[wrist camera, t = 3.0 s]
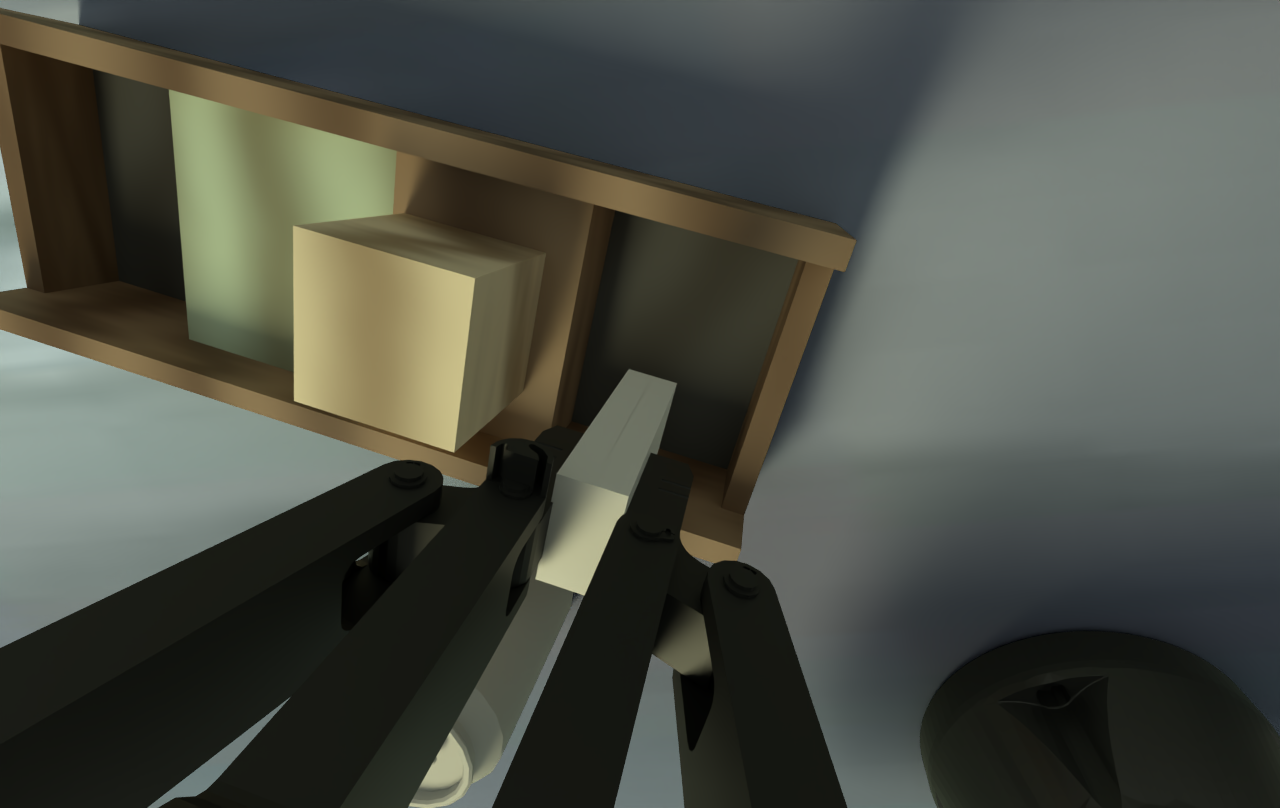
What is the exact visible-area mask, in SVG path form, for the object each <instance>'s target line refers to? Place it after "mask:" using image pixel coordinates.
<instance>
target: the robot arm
mask: <svg viewBox="0 0 1280 808" xmlns="http://www.w3.org/2000/svg"><path fill="white" fill-rule="evenodd" d="M676 385H677V383H674V382H671V381H668V380H664V379H661V378H657V377H654V376H651V375H647V374H644V373H640V372H637V371H634V370H630V369H629V370H628V371H627V372H626V374H625V375H624V377H623V378H622V380H621V381H620V383H619V384H618V386H617V387H616V388H615V390H614V391H613V393H612V394H611V396H610V397H609V399H608V400H607V401H606V403H605V404H604V406H603V407H602V409H601V410H600V412H599V413H598V415H597V416H596V417H595V419H594V420H593V422H592V423H591V425H590V426H589V428H588V429H587V430H586V432H585V433H581V432H577V431H574V430H571V429H568V428H565V427H561V426H558V425H557V426H554V427H552V428H549V429H547V430H544V431H542V432H541V434H540V435H539V436H538V437H537V438H536V440H535V441H532V440H527V439H522V438H508V439H503V440H499V441H497V442H495V443H493V444H492V445H491V446H490V453H489V460H488V467H487V474H486V480H485V481H484V482H483V483H482V484H481V485H480V486H479V487H477V488H463V487H453V486H444V485H443V476H442V474H441V472H440V470H438V469H437V468H436V467H434V466H433V465H431V464H428V463H425V462H422V461H417V460H416V461H415V460H400V461H393V462H390V463H387V464H384V465H382V466H380V467H378V468H375V469H373V470H371V471H369V472H367V473H365V474H363V475H361V476H359V477H357V478H355V479H352V480H350V481H348V482H346V483H344V484H342V485H340V486H338V487H336V488H334V489H332V490H330V491H327V492H325V493H323V494H321V495H319V496H317V497H315V498H313V499H311V500H309V501H307V502H304V503H302V504H300V505H298V506H296V507H294V508H292V509H290V510H288V511H286V512H284V513H281V514H279V515H277V516H275V517H273V518H271V519H269V520H267V521H265V522H263V523H261V524H259V525H256V526H254V527H252V528H250V529H248V530H246V531H244V532H242V533H240V534H238V535H236V536H233V537H231V538H229V539H227V540H225V541H223V542H221V543H219V544H217V545H215V546H213V547H211V548H208V549H206V550H204V551H202V552H200V553H198V554H196V555H194V556H192V557H190V558H188V559H185V560H183V561H181V562H179V563H177V564H175V565H173V566H171V567H169V568H167V569H165V570H162V571H160V572H158V573H156V574H154V575H152V576H150V577H148V578H146V579H144V580H142V581H140V582H137V583H135V584H133V585H131V586H129V587H127V588H125V589H123V590H121V591H119V592H117V593H114V594H112V595H110V596H108V597H106V598H104V599H102V600H100V601H98V602H96V603H94V604H91V605H89V606H87V607H85V608H83V609H81V610H79V611H77V612H75V613H73V614H71V615H69V616H66V617H64V618H62V619H60V620H58V621H56V622H54V623H52V624H50V625H48V626H46V627H43V628H41V629H39V630H37V631H35V632H33V633H31V634H29V635H27V636H25V637H23V638H21V639H18V640H16V641H14V642H12V643H10V644H8V645H6V646H4V647H2V648H0V808H147V807H148V806H150V805H151V804H152V803H154V802H155V801H156V800H158V799H159V798H160V797H161V796H163V795H164V794H165V793H167V792H168V791H169V790H170V789H172V788H173V787H174V786H176V785H177V784H178V783H179V782H181V781H182V780H183V779H185V778H186V777H187V776H189V775H190V774H191V773H192V772H194V771H195V770H196V769H198V768H199V767H200V766H201V765H203V764H204V763H205V762H207V761H208V760H209V759H211V758H212V757H213V756H214V755H216V754H217V753H218V752H220V751H221V750H222V749H223V748H225V747H226V746H227V745H229V744H230V743H231V742H233V741H234V740H235V739H236V738H238V737H239V736H240V735H242V734H243V733H244V732H245V731H247V730H248V729H249V728H251V727H252V726H253V725H255V724H256V723H257V722H258V721H260V720H261V719H262V718H264V717H265V716H266V715H267V714H269V713H270V712H271V711H273V710H274V709H275V708H277V707H278V706H279V705H280V704H282V703H283V702H284V701H286V700H287V699H288V698H289V697H290V699H289V700H288V701H287V702H286V703H285V704H284V705H283V706H282V708H281V709H280V710H279V711H278V712H277V713H276V714H275V715H274V716H273V718H272V719H271V720H270V721H269V722H268V723H267V724H266V725H265V727H264V728H263V729H262V730H261V731H260V732H259V733H258V734H257V735H256V737H255V738H254V739H253V740H252V741H251V742H250V743H249V744H248V745H247V747H246V748H245V749H244V750H243V751H242V752H241V753H240V754H239V756H238V757H237V758H236V759H235V760H234V761H233V762H232V763H231V764H230V766H229V767H228V768H227V769H226V770H225V771H224V772H223V773H222V775H221V776H220V777H219V778H218V779H217V780H216V781H215V782H214V783H213V784H212V785H211V786H210V787H209V788H208V789H207V790H205V791H204V792H202V793H200V794H199V795H197V796H194V797H179V798H174V799H172V800H171V801H169V802H167V803H166V804H164V805H162V806H160V807H159V808H408V806H409V805H410V803H411V801H412V799H413V797H414V796H415V794H416V792H417V790H418V788H419V787H420V785H421V783H422V781H423V780H424V778H425V776H426V774H427V772H428V771H429V769H430V767H431V765H432V763H433V762H434V760H435V758H436V756H437V755H438V753H439V751H440V749H441V747H442V746H443V744H444V742H445V740H446V738H447V737H448V735H449V733H450V731H451V730H452V728H453V726H454V724H455V722H456V721H457V719H458V717H459V715H460V714H461V712H462V710H463V708H464V706H465V705H466V703H467V701H468V699H469V697H470V696H471V694H472V692H473V690H474V689H475V687H476V685H477V683H478V681H479V680H480V678H481V676H482V674H483V672H484V671H485V669H486V667H487V665H488V664H489V662H490V660H491V658H492V656H493V655H494V653H495V651H496V649H497V647H498V646H499V644H500V642H501V640H502V639H503V637H504V635H505V633H506V631H507V630H508V628H509V626H510V624H511V622H512V621H513V619H514V617H515V615H516V614H517V612H518V610H519V608H520V606H521V605H522V603H523V601H524V599H525V597H526V596H527V592H528V588H529V583H530V578H531V575H532V573H533V572H534V570H535V568H536V566H537V565H538V569H537V574H536V579H537V580H540V581H543V582H546V583H549V584H552V585H555V586H558V587H560V588H563V589H566V590H569V591H572V592H575V593H578V594H581V595H584V598H583V600H582V602H581V605H580V607H579V609H578V611H577V614H576V616H575V618H574V621H573V623H572V625H571V628H570V630H569V632H568V634H567V637H566V639H565V641H564V644H563V646H562V648H561V650H560V653H559V655H558V657H557V660H556V662H555V664H554V667H553V669H552V671H551V673H550V676H549V678H548V680H547V683H546V685H545V687H544V690H543V692H542V694H541V696H540V699H539V701H538V703H537V706H536V708H535V710H534V712H533V715H532V717H531V719H530V722H529V724H528V726H527V729H526V731H525V733H524V735H523V738H522V740H521V742H520V745H519V747H518V749H517V752H516V754H515V756H514V758H513V761H512V763H511V765H510V768H509V770H508V772H507V774H506V777H505V779H504V781H503V784H502V786H501V788H500V791H499V793H498V795H497V797H496V800H495V802H494V804H493V807H492V808H614V805H615V801H616V797H617V793H618V789H619V785H620V781H621V776H622V772H623V768H624V764H625V760H626V756H627V752H628V748H629V744H630V740H631V736H632V732H633V728H634V724H635V720H636V716H637V712H638V708H639V703H640V699H641V695H642V691H643V687H644V683H645V679H646V675H647V671H648V667H649V663H650V659H651V655H652V654H653V655H655V656H656V657H658V658H659V659H661V660H662V661H664V662H665V663H667V664H668V665H670V666H671V667H672V668H674V670H673V677H672V678H673V689H674V700H675V710H676V721H677V732H678V742H679V753H680V764H681V774H682V785H683V796H684V806H685V808H847V805H846V802H845V799H844V796H843V793H842V790H841V787H840V784H839V781H838V778H837V775H836V772H835V769H834V766H833V763H832V760H831V757H830V754H829V751H828V748H827V745H826V742H825V739H824V736H823V733H822V730H821V727H820V724H819V721H818V718H817V715H816V712H815V709H814V706H813V703H812V700H811V697H810V694H809V691H808V688H807V685H806V682H805V679H804V676H803V673H802V670H801V667H800V664H799V661H798V658H797V655H796V652H795V649H794V646H793V643H792V640H791V637H790V634H789V631H788V628H787V625H786V622H785V619H784V615H783V612H782V609H781V606H780V603H779V600H778V597H777V594H776V591H775V589H774V587H773V585H772V584H771V582H770V580H769V579H768V578H767V577H766V576H765V575H764V574H763V573H761V572H760V571H759V570H757V569H755V568H754V567H752V566H750V565H748V564H745V563H742V562H738V561H730V560H723V561H720V562H717V563H714V564H713V565H712V566H711V567H710V568H709V567H707V566H706V565H704V564H702V563H701V562H699V561H698V560H696V559H695V558H693V557H692V556H691V555H690V554H689V553H688V552H687V551H686V549H685V548H684V546H683V545H682V542H681V539H680V531H681V527H682V523H683V519H684V514H685V510H686V506H687V502H688V498H689V494H690V490H691V486H692V482H693V478H694V476H693V473H692V471H691V469H690V467H689V464H686V463H683V462H680V461H676V460H673V459H670V458H667V457H663V456H660V455H657V453H658V450H659V446H660V442H661V439H662V435H663V432H664V428H665V425H666V421H667V417H668V414H669V410H670V407H671V403H672V400H673V396H674V392H675V389H676ZM367 552H368V555H367V556H365V557H364V558H362V559H361V560H358V561H356V560H357V559H358V558H359V557H361V556H362V555H364V554H365V553H367ZM538 563H539V564H538ZM920 748H921V755H922V759H923V763H924V767H925V771H926V774H927V778H928V782H929V786H930V790H931V793H932V796H933V799H934V801H935V804H936V806H937V808H1280V736H1279V735H1278V733H1277V732H1276V730H1275V729H1274V728H1273V726H1272V725H1271V724H1270V722H1269V721H1268V720H1267V719H1266V718H1265V717H1264V716H1263V714H1262V713H1261V712H1260V711H1259V710H1258V709H1257V708H1256V707H1255V706H1254V704H1253V703H1252V702H1251V701H1250V700H1249V699H1248V698H1247V697H1246V696H1245V694H1244V693H1243V692H1242V691H1241V690H1240V689H1239V688H1238V687H1237V685H1236V684H1235V683H1233V682H1232V681H1231V680H1230V679H1229V678H1228V677H1227V676H1226V675H1225V674H1224V673H1222V672H1221V671H1220V670H1219V669H1217V668H1216V667H1214V666H1213V665H1211V664H1210V663H1208V662H1207V661H1205V660H1203V659H1201V658H1200V657H1198V656H1196V655H1194V654H1192V653H1190V652H1188V651H1185V650H1183V649H1181V648H1178V647H1176V646H1173V645H1170V644H1167V643H1164V642H1161V641H1157V640H1154V639H1150V638H1145V637H1141V636H1136V635H1130V634H1124V633H1115V632H1101V631H1076V632H1063V633H1054V634H1047V635H1041V636H1036V637H1032V638H1028V639H1024V640H1020V641H1017V642H1014V643H1010V644H1007V645H1005V646H1002V647H1000V648H997V649H995V650H992V651H990V652H988V653H986V654H984V655H982V656H980V657H978V658H977V659H975V660H973V661H972V662H970V663H968V664H967V665H965V666H964V667H963V668H961V669H960V670H959V671H957V672H956V673H955V674H954V675H953V676H951V677H950V678H949V679H948V680H947V681H946V682H945V683H944V684H943V685H942V687H941V688H940V689H939V690H938V691H937V693H936V694H935V696H934V697H933V699H932V700H931V702H930V704H929V706H928V708H927V710H926V712H925V715H924V718H923V721H922V725H921V731H920Z"/></svg>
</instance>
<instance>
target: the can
mask: <svg viewBox="0 0 1280 808" xmlns="http://www.w3.org/2000/svg"><path fill="white" fill-rule="evenodd" d="M538 564H539V563H538ZM537 569H538V565H537V566H536V568H535V570H534V572H533V573H532V575H531V578H530V583H529V588H528V592H527V596H526V597H525V599H524V601H523V603H522V605H521V606H520V608H519V610H518V612H517V614H516V615H515V617H514V619H513V621H512V622H511V624H510V626H509V628H508V630H507V631H506V633H505V635H504V637H503V639H502V640H501V642H500V644H499V646H498V647H497V649H496V651H495V653H494V655H493V656H492V658H491V660H490V662H489V664H488V665H487V667H486V669H485V671H484V672H483V674H482V676H481V678H480V680H479V681H478V683H477V685H476V687H475V689H474V690H473V692H472V694H471V696H470V697H469V699H468V701H467V703H466V705H465V706H464V708H463V710H462V712H461V714H460V715H459V717H458V719H457V721H456V722H455V724H454V726H453V728H452V730H451V731H450V733H449V735H448V737H447V738H446V740H445V742H444V744H443V746H442V747H441V749H440V751H439V753H438V755H437V756H436V758H435V760H434V762H433V763H432V765H431V767H430V769H429V771H428V772H427V774H426V776H425V778H424V780H423V781H422V783H421V785H420V787H419V788H418V790H417V792H416V794H415V796H414V797H413V799H412V801H411V803H410V805H409V806H413V807H422V808H434V807H440V806H445V805H450V804H452V803H453V802H455V801H457V800H458V799H460V798H462V797H463V796H464V795H465V793H466V792H467V790H468V788H469V787H470V785H471V783H474V782H476V781H478V780H480V779H481V778H483V777H484V776H486V775H488V774H489V773H491V772H492V771H493V769H494V768H495V766H496V764H497V763H498V761H499V760H500V758H501V756H502V754H503V752H504V750H505V748H506V746H507V743H508V741H509V739H510V737H511V735H512V733H513V731H514V728H515V726H516V724H517V722H518V720H519V718H520V715H521V713H522V711H523V709H524V707H525V705H526V702H527V700H528V698H529V696H530V694H531V692H532V690H533V687H534V685H535V683H536V681H537V679H538V677H539V674H540V672H541V670H542V668H543V666H544V664H545V662H546V659H547V657H548V655H549V653H550V651H551V649H552V646H553V644H554V642H555V640H556V638H557V636H558V633H559V631H560V629H561V627H562V625H563V623H564V621H565V618H566V616H567V614H568V612H569V610H570V608H571V605H572V598H573V592H572V591H569V590H566V589H563V588H560V587H558V586H555V585H552V584H549V583H546V582H543V581H540V580H537V579H536V574H537Z"/></svg>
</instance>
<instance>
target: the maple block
mask: <svg viewBox="0 0 1280 808" xmlns="http://www.w3.org/2000/svg"><path fill="white" fill-rule="evenodd" d="M545 257H546V253H545V252H541V251H537V250H534V249H530V248H527V247H523V246H520V245H516V244H513V243H509V242H505V241H502V240H498V239H495V238H491V237H488V236H484V235H481V234H477V233H474V232H470V231H466V230H463V229H459V228H456V227H452V226H449V225H445V224H442V223H438V222H434V221H431V220H427V219H424V218H420V217H417V216H413V215H410V214H406V213H401V214H392V215H383V216H374V217H365V218H356V219H347V220H338V221H329V222H320V223H311V224H302V225H293V301H294V401H296V402H299V403H302V404H305V405H308V406H311V407H314V408H318V409H321V410H324V411H327V412H330V413H333V414H336V415H339V416H342V417H345V418H348V419H352V420H355V421H358V422H361V423H364V424H367V425H370V426H373V427H376V428H379V429H383V430H386V431H389V432H392V433H395V434H398V435H401V436H404V437H407V438H410V439H414V440H417V441H420V442H423V443H426V444H429V445H432V446H435V447H438V448H441V449H445V450H448V451H451V452H455V451H457V450H458V449H459V448H460V447H461V446H462V445H463V444H465V443H466V442H467V441H468V440H469V439H470V438H471V437H472V436H474V435H475V434H476V433H477V432H478V431H479V430H480V429H482V428H483V427H484V426H485V425H486V424H487V423H488V422H490V421H491V420H492V419H493V418H494V417H495V416H496V415H497V414H499V413H500V412H501V411H502V410H503V409H504V408H505V407H507V406H508V405H509V404H510V403H511V402H512V401H513V400H514V399H516V398H517V397H518V396H519V395H520V394H521V393H522V392H523V389H524V383H525V377H526V371H527V365H528V359H529V353H530V347H531V341H532V335H533V329H534V323H535V317H536V311H537V305H538V299H539V293H540V287H541V281H542V275H543V269H544V263H545Z"/></svg>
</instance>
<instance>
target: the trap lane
mask: <svg viewBox="0 0 1280 808" xmlns="http://www.w3.org/2000/svg"><path fill="white" fill-rule="evenodd" d="M0 148H1V153H2V158H3V164H4V169H5V174H6V179H7V185H8V190H9V195H10V200H11V206H12V211H13V216H14V221H15V227H16V232H17V237H18V242H19V248H20V253H21V258H22V263H23V268H24V274H25V279H26V284H27V288H22V289H16V290H9V291H3V292H0V329H1V330H4V331H7V332H10V333H13V334H16V335H19V336H23V337H26V338H29V339H32V340H35V341H38V342H41V343H44V344H47V345H50V346H53V347H56V348H59V349H62V350H65V351H68V352H71V353H74V354H77V355H81V356H84V357H87V358H90V359H93V360H96V361H99V362H102V363H105V364H108V365H111V366H114V367H117V368H120V369H123V370H126V371H129V372H132V373H135V374H139V375H142V376H145V377H148V378H151V379H154V380H157V381H160V382H163V383H166V384H169V385H172V386H175V387H178V388H181V389H184V390H187V391H190V392H194V393H197V394H200V395H203V396H206V397H209V398H212V399H215V400H218V401H221V402H224V403H227V404H230V405H233V406H236V407H239V408H242V409H245V410H248V411H252V412H255V413H258V414H261V415H264V416H267V417H270V418H273V419H276V420H279V421H282V422H285V423H288V424H291V425H294V426H297V427H300V428H303V429H306V430H310V431H313V432H316V433H319V434H322V435H325V436H328V437H331V438H334V439H337V440H340V441H343V442H346V443H349V444H352V445H355V446H358V447H361V448H365V449H368V450H371V451H374V452H377V453H380V454H383V455H386V456H389V457H392V458H395V459H398V460H415V461H416V460H417V461H422V462H425V463H428V464H431V465H433V466H434V467H436V468H437V469H438V470H440V472H441V474H444V475H447V476H450V477H453V478H456V479H459V480H462V481H465V482H468V483H471V484H474V485H477V486H480V485H481V484H482V483H483V482H484V481H485V480H486V474H487V467H488V460H489V453H490V446H491V445H492V444H493V443H495V442H497V441H499V440H503V439H508V438H522V439H527V440H532V441H535V440H536V438H537V437H538V436H539V435H540V434H541V432H542V431H544V430H547V429H549V428H552V427H554V426H557V425H558V426H561V427H565V428H568V429H571V430H574V431H577V432H581V433H585V432H586V430H587V429H588V428H589V426H590V425H591V423H592V422H593V420H594V419H595V417H596V416H597V415H598V413H599V412H600V410H601V409H602V407H603V406H604V404H605V403H606V401H607V400H608V399H609V397H610V396H611V394H612V393H613V391H614V390H615V388H616V387H617V386H618V384H619V383H620V381H621V380H622V378H623V377H624V375H625V374H626V372H627V371H628V370H629V369H630V370H634V371H637V372H640V373H644V374H647V375H651V376H654V377H657V378H661V379H664V380H668V381H671V382H674V383H677V385H676V389H675V392H674V396H673V400H672V403H671V407H670V410H669V414H668V417H667V421H666V425H665V428H664V432H663V435H662V439H661V442H660V446H659V450H658V453H657V455H660V456H663V457H667V458H670V459H673V460H676V461H680V462H683V463H686V464H689V467H690V469H691V471H692V473H693V476H694V478H693V482H692V486H691V490H690V494H689V498H688V502H687V506H686V510H685V514H684V519H683V523H682V527H681V531H680V539H681V542H682V545H683V546H684V548H685V549H686V551H687V552H688V553H689V554H690V555H691V556H694V557H697V558H700V559H703V560H707V561H710V562H713V563H717V562H720V561H723V560H730V561H737V559H738V556H739V554H740V551H741V544H742V532H743V520H744V514H745V511H746V508H747V506H748V503H749V500H750V497H751V495H752V492H753V489H754V486H755V484H756V481H757V478H758V475H759V473H760V470H761V467H762V465H763V462H764V459H765V456H766V454H767V451H768V448H769V445H770V443H771V440H772V437H773V434H774V432H775V429H776V426H777V424H778V421H779V418H780V415H781V413H782V410H783V407H784V404H785V402H786V399H787V396H788V394H789V391H790V388H791V385H792V383H793V380H794V377H795V374H796V372H797V369H798V366H799V363H800V361H801V358H802V355H803V353H804V350H805V347H806V344H807V342H808V339H809V336H810V333H811V331H812V328H813V325H814V322H815V320H816V317H817V314H818V312H819V309H820V306H821V303H822V301H823V298H824V295H825V292H826V290H827V287H828V284H829V281H830V279H831V276H832V273H833V271H834V269H835V270H839V271H842V272H845V270H846V268H847V265H848V262H849V260H850V257H851V254H852V252H853V249H854V246H855V244H856V241H857V240H856V239H854V238H853V237H852V236H851V235H849V234H848V233H847V232H846V231H845V230H843V229H842V228H841V227H840V226H838V225H837V224H836V223H832V222H828V221H824V220H821V219H817V218H813V217H809V216H805V215H801V214H798V213H794V212H790V211H786V210H782V209H779V208H775V207H771V206H767V205H763V204H760V203H756V202H752V201H748V200H744V199H741V198H737V197H733V196H729V195H725V194H721V193H718V192H714V191H710V190H706V189H702V188H699V187H695V186H691V185H687V184H683V183H680V182H676V181H672V180H668V179H664V178H661V177H657V176H653V175H649V174H645V173H641V172H638V171H634V170H630V169H626V168H622V167H619V166H615V165H611V164H607V163H603V162H600V161H596V160H592V159H588V158H584V157H580V156H577V155H573V154H569V153H565V152H561V151H558V150H554V149H550V148H546V147H542V146H539V145H535V144H531V143H527V142H523V141H520V140H516V139H512V138H508V137H504V136H500V135H497V134H493V133H489V132H485V131H481V130H478V129H474V128H470V127H466V126H462V125H459V124H455V123H451V122H447V121H443V120H440V119H436V118H432V117H428V116H424V115H420V114H417V113H413V112H409V111H405V110H401V109H398V108H394V107H390V106H386V105H382V104H379V103H375V102H371V101H367V100H363V99H360V98H356V97H352V96H348V95H344V94H340V93H337V92H333V91H329V90H325V89H321V88H318V87H314V86H310V85H306V84H302V83H299V82H295V81H291V80H287V79H283V78H280V77H276V76H272V75H268V74H264V73H260V72H257V71H253V70H249V69H245V68H241V67H238V66H234V65H230V64H226V63H222V62H219V61H215V60H211V59H207V58H203V57H200V56H196V55H192V54H188V53H184V52H180V51H177V50H173V49H169V48H165V47H161V46H158V45H154V44H150V43H146V42H142V41H139V40H135V39H131V38H127V37H123V36H120V35H116V34H112V33H108V32H104V31H100V30H97V29H93V28H89V27H85V26H81V25H78V24H73V23H68V22H63V21H59V20H54V19H49V18H45V17H40V16H35V15H30V14H26V13H21V12H16V11H12V10H7V9H2V8H0ZM401 213H406V214H410V215H413V216H417V217H420V218H424V219H427V220H431V221H434V222H438V223H442V224H445V225H449V226H452V227H456V228H459V229H463V230H466V231H470V232H474V233H477V234H481V235H484V236H488V237H491V238H495V239H498V240H502V241H505V242H509V243H513V244H516V245H520V246H523V247H527V248H530V249H534V250H537V251H541V252H545V253H546V257H545V263H544V269H543V275H542V281H541V287H540V293H539V299H538V305H537V311H536V317H535V323H534V329H533V335H532V341H531V347H530V353H529V359H528V365H527V371H526V377H525V383H524V389H523V392H522V393H521V394H520V395H519V396H518V397H517V398H516V399H514V400H513V401H512V402H511V403H510V404H509V405H508V406H507V407H505V408H504V409H503V410H502V411H501V412H500V413H499V414H497V415H496V416H495V417H494V418H493V419H492V420H491V421H490V422H488V423H487V424H486V425H485V426H484V427H483V428H482V429H480V430H479V431H478V432H477V433H476V434H475V435H474V436H472V437H471V438H470V439H469V440H468V441H467V442H466V443H465V444H463V445H462V446H461V447H460V448H459V449H458V450H457V451H455V452H451V451H448V450H445V449H441V448H438V447H435V446H432V445H429V444H426V443H423V442H420V441H417V440H414V439H410V438H407V437H404V436H401V435H398V434H395V433H392V432H389V431H386V430H383V429H379V428H376V427H373V426H370V425H367V424H364V423H361V422H358V421H355V420H352V419H348V418H345V417H342V416H339V415H336V414H333V413H330V412H327V411H324V410H321V409H318V408H314V407H311V406H308V405H305V404H302V403H299V402H296V401H294V301H293V225H302V224H311V223H320V222H329V221H338V220H347V219H356V218H365V217H374V216H383V215H392V214H401Z"/></svg>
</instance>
